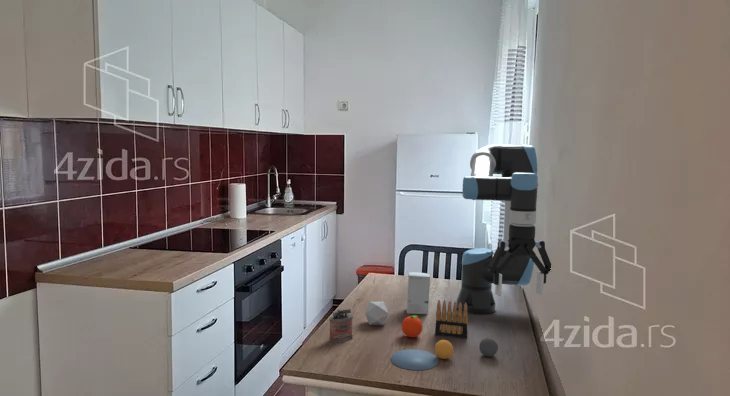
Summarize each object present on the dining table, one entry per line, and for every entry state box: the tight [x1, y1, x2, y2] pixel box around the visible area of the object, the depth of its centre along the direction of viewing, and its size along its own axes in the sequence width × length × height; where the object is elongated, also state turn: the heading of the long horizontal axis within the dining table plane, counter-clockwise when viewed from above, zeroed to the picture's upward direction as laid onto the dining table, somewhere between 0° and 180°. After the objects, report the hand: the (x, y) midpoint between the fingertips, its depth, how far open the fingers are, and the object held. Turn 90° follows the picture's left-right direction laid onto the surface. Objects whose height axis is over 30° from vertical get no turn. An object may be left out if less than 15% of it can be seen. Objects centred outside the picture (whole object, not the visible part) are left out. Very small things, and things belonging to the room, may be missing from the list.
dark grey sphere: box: [478, 337, 499, 358], centre depth 150 cm, size 6×6×6 cm
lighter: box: [328, 308, 354, 343], centre depth 161 cm, size 8×3×10 cm, turn 117°
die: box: [364, 301, 389, 326], centre depth 176 cm, size 8×9×10 cm
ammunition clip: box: [434, 299, 469, 339], centre depth 166 cm, size 11×2×12 cm, turn 74°
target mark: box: [390, 348, 439, 371], centre depth 147 cm, size 14×14×1 cm
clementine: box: [401, 315, 423, 338], centre depth 165 cm, size 8×7×7 cm
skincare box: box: [406, 271, 431, 315], centre depth 189 cm, size 8×6×15 cm
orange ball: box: [434, 339, 454, 360], centre depth 148 cm, size 6×6×6 cm
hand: (519, 294), depth 150 cm, fingers open, 12 cm apart
